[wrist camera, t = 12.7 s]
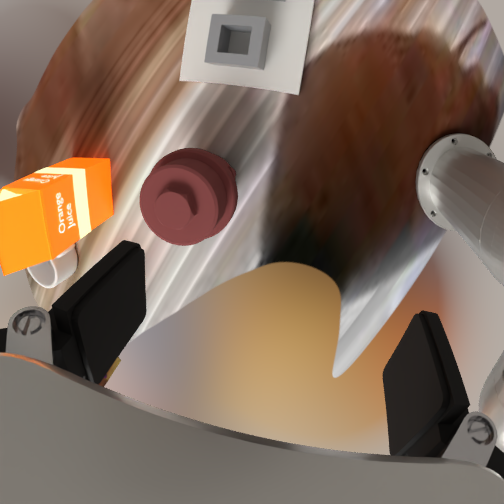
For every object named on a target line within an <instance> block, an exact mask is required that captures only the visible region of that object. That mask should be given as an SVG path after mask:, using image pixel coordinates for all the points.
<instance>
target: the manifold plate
mask: <svg viewBox="0 0 504 504" xmlns="http://www.w3.org/2000/svg"><path fill="white" fill-rule="evenodd" d="M314 2H315V0H192V3H191V8H190V14H189V20H188V26H187V32H186V38H185V44H184V51H183V58H182V65H181V73H180V81H193V82H206V83H217V84H227V85H236V86H244V87H251V88H259V89H265V90H272V91H278V92H284V93H290V94H295V95H299V92H300V87H301V81H302V75H303V69H304V63H305V57H306V51H307V45H308V39H309V33H310V27H311V21H312V15H313V9H314Z"/></svg>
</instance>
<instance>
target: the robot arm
mask: <svg viewBox="0 0 504 504" xmlns="http://www.w3.org/2000/svg"><path fill="white" fill-rule="evenodd" d="M452 139H453V142H452ZM423 169H425V172H422V171H423ZM416 191H417V196H418V200H419V202H420V205H421V207H422V209H423V210H424V212H425V214H426V215H427V216H428V217H429V218H430V220H432V221H433V222H434V223H435V224H436V225H438V226H440V227H442V228H444V229H447V230H450V231H457V232H458V233H459V235H460V236H461V237H462V238H463V239H464V240H465V242H466V243H467V244H468V245H469V246H470V248H471V249H472V250H473V251H474V252H475V254H476V255H477V256H478V258H479V259H480V260H481V261H482V263H483V264H484V265H485V266H486V268H487V269H488V270H489V271H490V273H491V274H492V275H493V276H494V278H495V279H496V280H497V281H498V282H499V283H500V284H502V285H503V286H504V163H503V162H500V161H498V160H497V159H496V157H495V155H494V153H493V152H492V151H491V149H490V148H489V147H488V146H487V145H486V144H485V143H484V142H483V141H481V140H480V139H478V138H476V137H474V136H471V135H467V134H462V133H456V134H450V135H446V136H444V137H442V138H440V139H438V140H437V141H435V142H434V143H433V144H432V145H431V146H430V147H429V148H428V149H427V151H426V152H425V153H424V155H423V157H422V159H421V161H420V163H419V166H418V170H417V175H416ZM431 211H433V212H432V213H431ZM145 315H146V293H145V253H144V250H143V249H141V247H140V245H139V244H138V243H134V242H130V241H126V240H123V241H122V242H120V243H119V244H118V245H117V246H116V247H115V248H114V249H112V250H111V251H110V252H109V253H108V254H107V255H105V256H104V257H103V258H102V259H101V260H100V261H99V262H98V263H96V264H95V265H94V266H93V267H92V268H91V269H90V270H89V271H88V272H86V273H85V274H84V275H83V276H82V277H81V278H80V279H79V280H78V281H77V282H76V283H75V284H73V285H72V286H71V287H70V288H69V289H68V290H67V291H66V292H65V293H64V294H63V295H62V296H61V297H60V298H59V299H58V300H57V301H56V302H55V303H53V304H52V309H51V310H50V311H49V312H47V311H46V310H45V309H43V308H41V307H36V306H31V307H26V308H23V309H20V310H18V311H17V312H16V313H14V314H13V315H12V317H11V318H10V320H9V323H8V328H3V329H0V504H504V351H503V353H502V354H501V356H500V358H499V359H498V361H497V363H496V364H495V366H494V368H493V369H492V371H491V373H490V374H489V376H488V378H487V380H486V381H485V384H484V386H483V388H482V391H481V394H480V399H479V412H471V413H469V412H468V407H469V405H470V403H469V400H468V396H467V393H466V390H465V387H464V384H463V381H462V378H461V375H460V372H459V369H458V366H457V363H456V360H455V357H454V355H453V352H452V349H451V346H450V344H449V341H448V339H447V336H446V334H445V331H444V328H443V326H442V323H441V321H440V319H439V316H438V314H436V313H432V312H427V311H421V312H420V313H419V314H415V315H414V317H413V319H412V320H411V322H410V324H409V326H408V328H407V330H406V331H405V333H404V335H403V337H402V339H401V341H400V342H399V344H398V346H397V347H396V349H395V351H394V353H393V354H392V356H391V358H390V359H389V361H388V363H387V364H386V366H385V368H384V371H383V384H384V393H385V402H386V411H387V423H388V435H389V449H390V455H379V454H367V453H356V452H347V451H338V450H330V449H323V448H316V447H310V446H304V445H298V444H292V443H287V442H282V441H276V440H272V439H267V438H262V437H257V436H253V435H249V434H245V433H241V432H236V431H232V430H229V429H225V428H221V427H217V426H213V425H210V424H207V423H203V422H200V421H197V420H193V419H190V418H187V417H183V416H180V415H177V414H174V413H171V412H168V411H165V410H162V409H159V408H157V407H153V406H151V405H148V404H145V403H142V402H140V401H137V400H135V399H132V398H130V397H127V396H125V395H122V394H120V393H117V392H114V391H112V390H110V389H107V388H105V387H102V386H100V385H98V384H100V382H101V381H102V380H103V378H104V377H105V375H106V374H107V372H108V371H109V369H110V368H111V366H112V365H113V363H114V362H115V360H116V359H117V357H118V356H119V355H120V353H121V351H122V350H123V349H124V347H125V346H126V344H127V343H128V342H129V340H130V339H131V337H132V336H133V334H134V333H135V332H136V330H137V329H138V327H139V326H140V324H141V323H142V322H143V320H144V318H145ZM495 445H496V446H495ZM502 451H503V452H502Z"/></svg>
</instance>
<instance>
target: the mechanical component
mask: <svg viewBox="0 0 504 504" xmlns="http://www.w3.org/2000/svg"><path fill="white" fill-rule="evenodd" d="M235 176H236V171H235V170H234V169H233V168H232V167H230V165H229V164H228V163H227V162H226V161H225V160H224V159H223V158H221V157H219V156H217V155H215V154H212V153H210V152H208V151H205V150H202V149H198V148H184V149H180V150H177V151H174V152H172V153H170V154H168V155H166V156H164V157H163V158H162V159H160V160H159V161H158V162H157V163H156V165H155V166H154V168H153V169H152V171H151V173H150V175H149V176H148V177H147V178H146V180H145V181H144V183H143V185H142V188H141V192H140V208H141V212H142V215H143V218H144V220H145V222H146V223H147V225H148V227H149V228H150V229H151V230H152V231H153V232H154V233H155V234H156V235H157V236H158V237H160V238H161V239H163V240H165V241H166V242H169V243H172V244H175V245H182V246H186V245H193V244H196V243H199V242H201V241H202V240H204V239H207V238H209V237H212V236H214V235H216V234H218V233H219V232H220V231H221V230H223V229H224V227H225V226H226V225H227V224H228V222H229V221H230V220H231V218H232V216H233V214H234V212H235V210H236V206H237V200H238V192H237V186H236V182H235Z"/></svg>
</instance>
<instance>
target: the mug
mask: <svg viewBox="0 0 504 504" xmlns="http://www.w3.org/2000/svg"><path fill="white" fill-rule="evenodd" d="M74 247H75V244H72V245H71V246H70V247H68V248H67V249H66V250H64V251H63V252H62V253H61V254H59V255H58V256H57V257H55V258H54V259H53V260H48V261H45V262H42V263H39V264H36V265H33V266H30V267H27V269H28V271H29V273H30V274H31V276H32V277H33V278H34V279H35V281H36V282H37V283H39V284H40V285H41V286H43V287H46V288H53V287H55V286H56V285H58V284H59V283H61V282H62V281H64V280H65V279H67V278H68V277H70V276H71V275H72V274H73V273H74V272H75V270H76V268H77V262H78V261H77V254H76V250H75V248H74Z"/></svg>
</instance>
